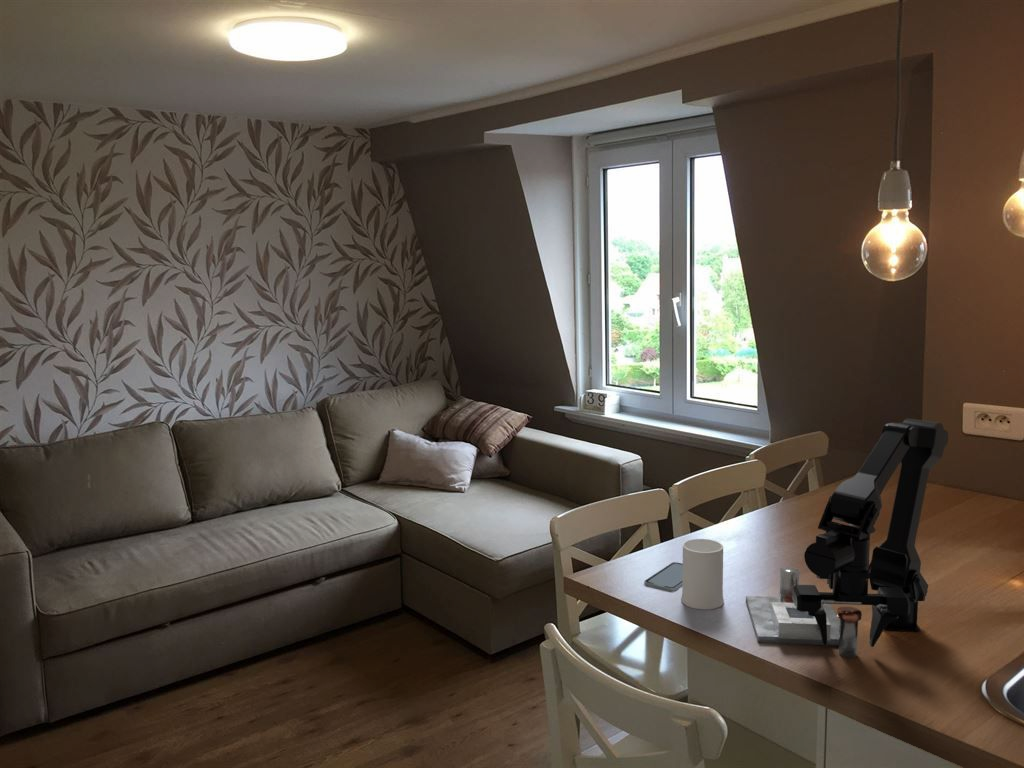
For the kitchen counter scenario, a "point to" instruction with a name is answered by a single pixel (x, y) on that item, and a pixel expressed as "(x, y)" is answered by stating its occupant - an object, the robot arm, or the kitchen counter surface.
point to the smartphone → (667, 578)
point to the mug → (702, 574)
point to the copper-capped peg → (848, 631)
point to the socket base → (789, 616)
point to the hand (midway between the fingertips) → (847, 644)
